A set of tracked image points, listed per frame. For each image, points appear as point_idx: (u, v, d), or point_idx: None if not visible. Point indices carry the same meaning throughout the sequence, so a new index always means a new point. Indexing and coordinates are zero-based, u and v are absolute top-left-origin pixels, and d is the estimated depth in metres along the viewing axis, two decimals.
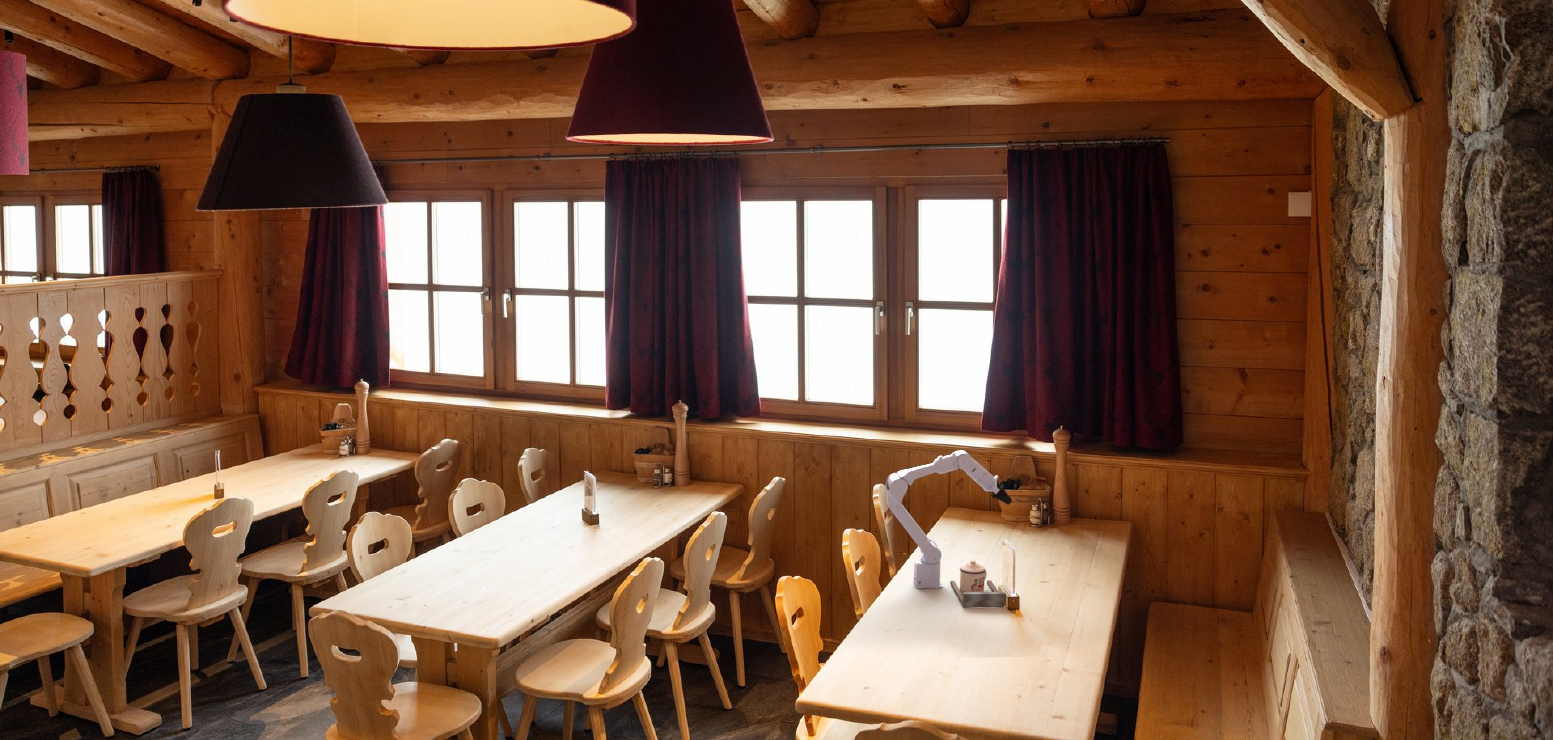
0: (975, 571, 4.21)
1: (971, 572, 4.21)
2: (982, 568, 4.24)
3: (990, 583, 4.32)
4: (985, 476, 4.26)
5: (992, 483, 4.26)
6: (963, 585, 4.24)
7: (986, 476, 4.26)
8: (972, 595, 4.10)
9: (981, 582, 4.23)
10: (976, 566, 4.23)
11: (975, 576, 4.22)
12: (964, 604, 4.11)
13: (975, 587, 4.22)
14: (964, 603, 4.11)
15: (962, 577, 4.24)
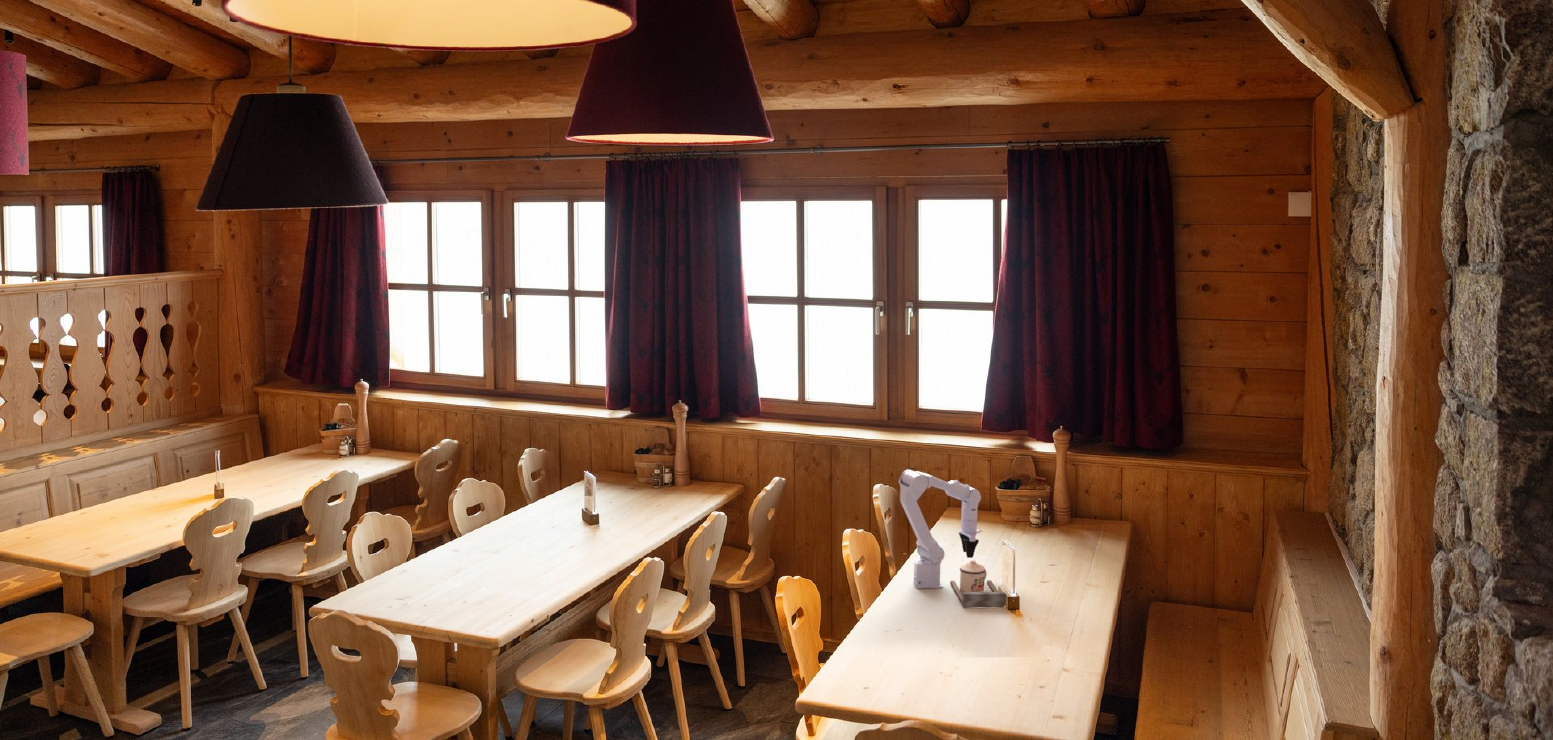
0: (975, 571, 4.21)
1: (971, 572, 4.21)
2: (982, 568, 4.24)
3: (990, 583, 4.32)
4: (973, 522, 4.35)
5: (972, 532, 4.35)
6: (963, 585, 4.24)
7: (973, 523, 4.35)
8: (972, 595, 4.10)
9: (981, 582, 4.23)
10: (976, 566, 4.23)
11: (975, 576, 4.22)
12: (964, 604, 4.11)
13: (975, 587, 4.22)
14: (964, 603, 4.11)
15: (962, 577, 4.24)
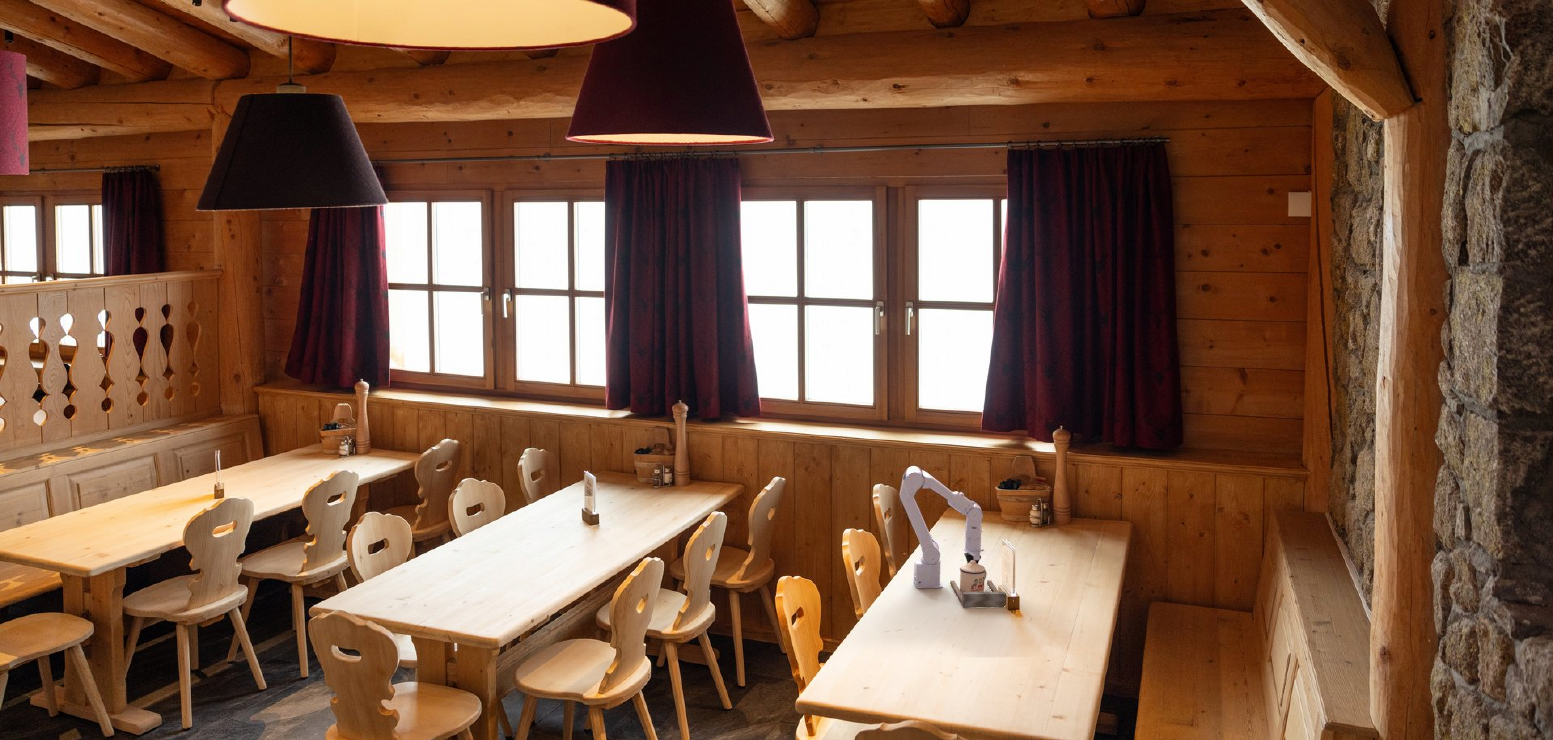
0: (975, 571, 4.21)
1: (971, 572, 4.21)
2: (982, 568, 4.24)
3: (990, 583, 4.32)
4: (977, 540, 4.28)
5: (976, 550, 4.28)
6: (963, 585, 4.24)
7: (978, 541, 4.28)
8: (972, 595, 4.10)
9: (981, 582, 4.23)
10: (976, 566, 4.23)
11: (975, 576, 4.22)
12: (964, 604, 4.11)
13: (975, 587, 4.22)
14: (964, 603, 4.11)
15: (962, 577, 4.24)
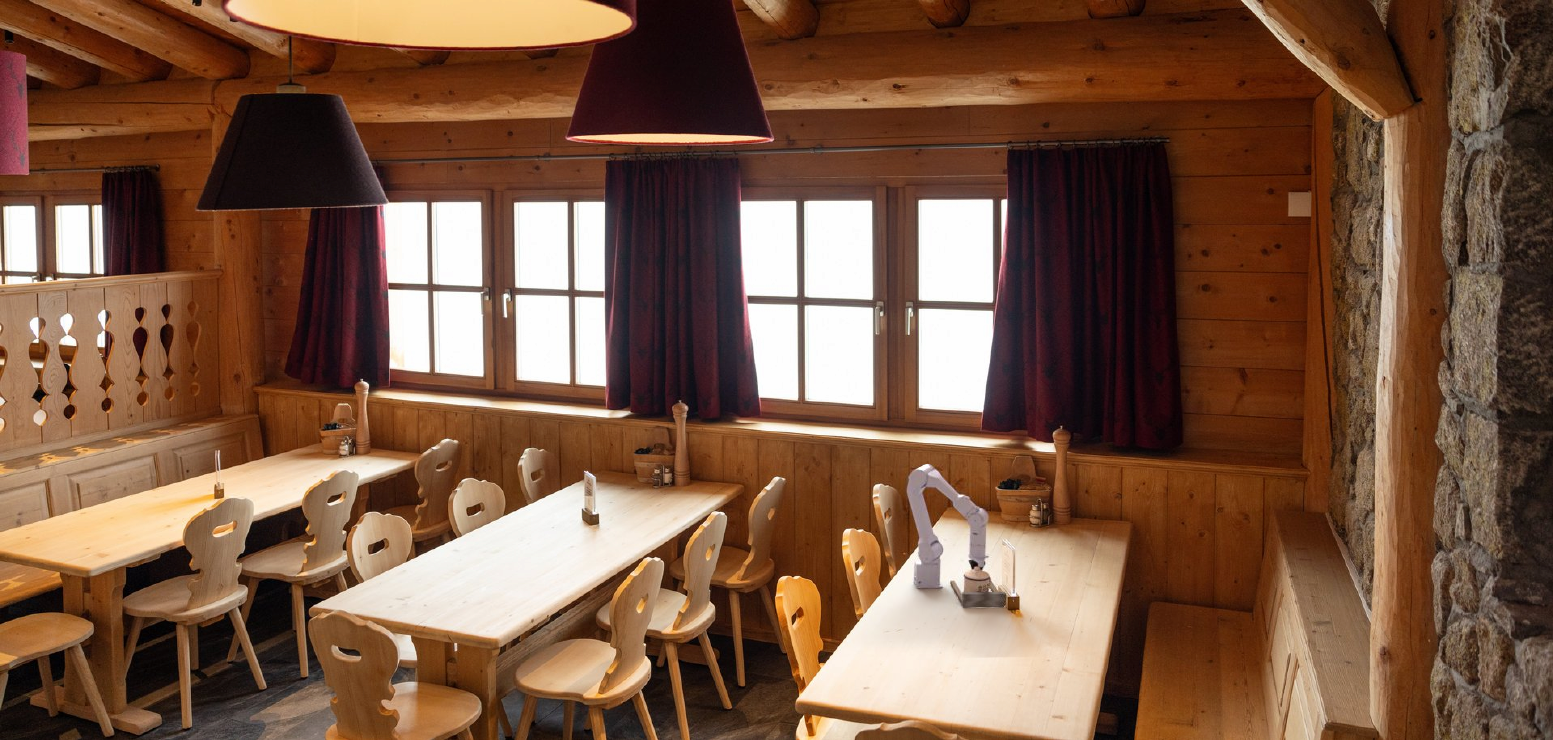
0: (979, 578, 4.14)
1: (975, 579, 4.14)
2: (986, 575, 4.17)
3: None
4: (982, 547, 4.20)
5: (981, 557, 4.21)
6: None
7: (982, 547, 4.20)
8: (972, 595, 4.10)
9: (985, 589, 4.16)
10: (980, 573, 4.16)
11: (979, 583, 4.15)
12: (964, 604, 4.11)
13: None
14: (964, 603, 4.11)
15: (966, 584, 4.17)
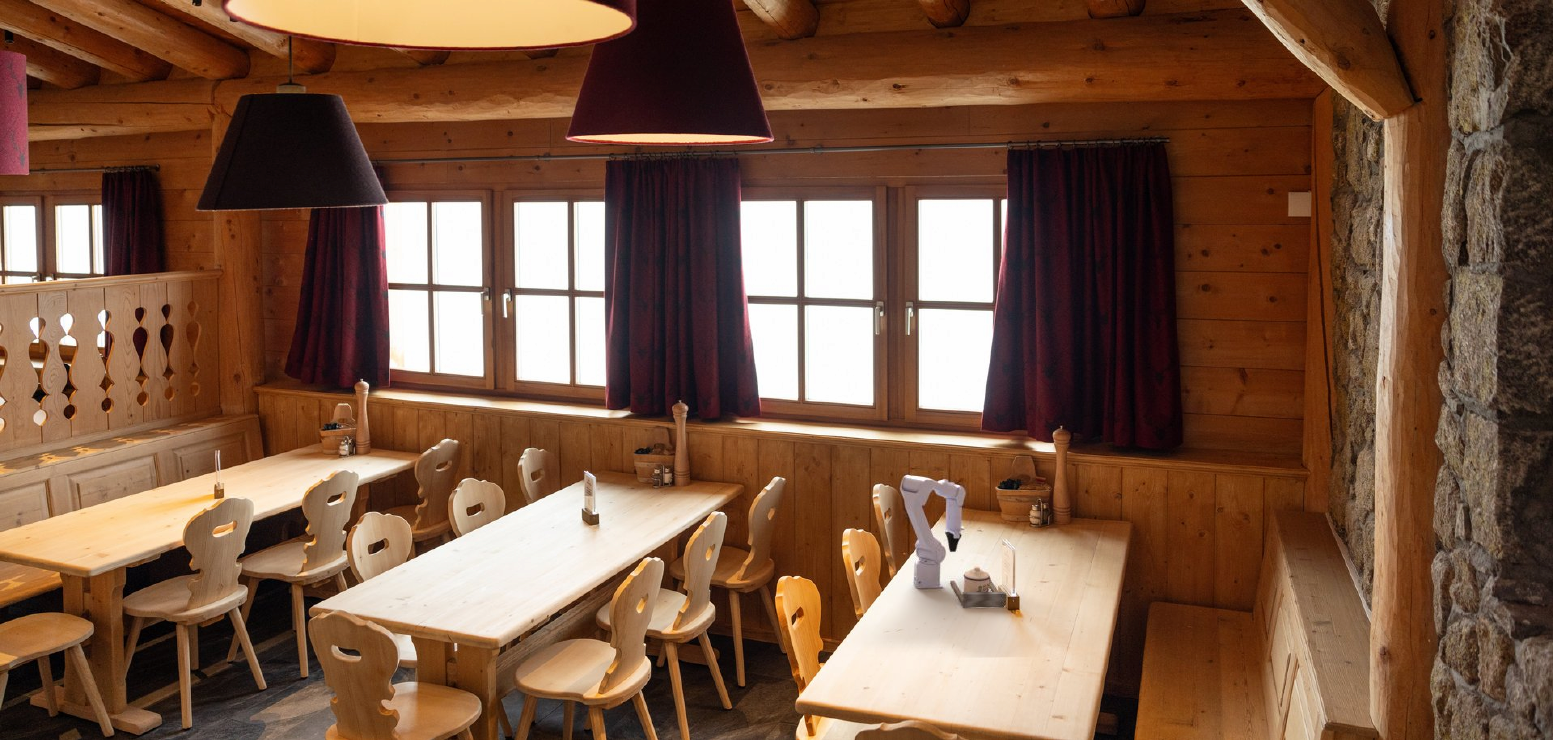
0: (979, 578, 4.14)
1: (975, 579, 4.14)
2: (986, 575, 4.17)
3: (990, 583, 4.32)
4: (957, 519, 4.38)
5: (957, 529, 4.39)
6: None
7: (958, 520, 4.39)
8: (972, 595, 4.10)
9: (985, 589, 4.16)
10: (980, 573, 4.16)
11: (979, 583, 4.15)
12: (964, 604, 4.11)
13: None
14: (964, 603, 4.11)
15: (966, 584, 4.17)
